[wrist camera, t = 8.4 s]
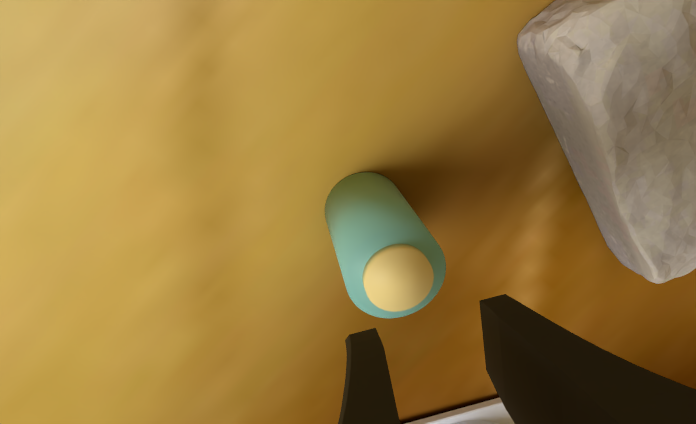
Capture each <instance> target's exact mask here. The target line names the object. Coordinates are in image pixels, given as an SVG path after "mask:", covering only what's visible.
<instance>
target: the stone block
mask: <svg viewBox="0 0 696 424" xmlns="http://www.w3.org/2000/svg"><path fill="white" fill-rule="evenodd" d="M517 45H518V52H519V56H520V58H521V60H522V63H523V66H524V68H525V70H526V73H527V75H528V77H529V79H530V81H531V83H532V85H533V87H534V89H535V91H536V93H537V95H538V97H539V100H540V102H541V104H542V106H543V108H544V110H545V112H546V114H547V117H548V119H549V121H550V123H551V125H552V127H553V129H554V131H555V134H556V136H557V138H558V140H559V142H560V145H561V147H562V149H563V151H564V153H565V155H566V157H567V159H568V161H569V163H570V165H571V167H572V170H573V172H574V174H575V177H576V179H577V181H578V183H579V185H580V187H581V189H582V191H583V193H584V195H585V197H586V199H587V201H588V204H589V206H590V208H591V210H592V212H593V215H594V217H595V220H596V222H597V224H598V226H599V229H600V231H601V233H602V235H603V237H604V239H605V241H606V244H607V246H608V247H609V248H610V250H611V251H612V252H613V253H614V255H615V256H616V257H617V258H618V260H619V261H620V262H621V263H622V264H623V265H625V266H626V267H628V268H630V269H631V270H633V271H635V272H636V273H638V274H641V275H642V276H643V277H645V278H646V279H647V280H649V281H651V282H654V283H656V284H658V283H664V282H666V281H668V280H671V279H673V278H676V277H681V276H683V275H685V274H688V273H690V272H691V271H692V270H694V269H695V268H696V0H555V1H554V2H553V3H551V4H550V5H549V6H548V7H547V8H545V9H544V10H543V11H542V12H541V13H540V14H538V15H537V16H536V17H534V18H532V19H531V20H530V21H529V22H528V23H527V24H526V25H525V27H524V28H523V29H522V30H521V32H520V33H519V34H518V38H517Z"/></svg>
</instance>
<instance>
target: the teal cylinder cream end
mask: <svg viewBox="0 0 696 424" xmlns="http://www.w3.org/2000/svg"><path fill="white" fill-rule="evenodd" d="M325 218H326V222H327V225H328V228H329V232H330V235H331V238H332V242H333V245H334V248H335V252H336V255H337V258H338V262H339V265H340V268H341V272H342V275H343V278H344V282H345V285H346V288H347V292H348V294H349V296H350V298H351V300H352V301H353V302H354V304H355V305H356V306H357V307H358V308H360V309H361V310H362V311H364V312H366V313H368V314H370V315H372V316H376V317H381V318H398V317H403V316H406V315H409V314H412V313H414V312H416V311H418V310H420V309H421V308H423V307H424V306H425V305H427V304H428V303H429V302H430V301H431V300H432V299H433V298H434V297H435V296H436V294H437V293H438V291H439V290H440V288H441V286H442V283H443V281H444V277H445V271H446V262H445V257H444V254H443V251H442V250H441V248H440V246H439V245H438V243H437V242H436V241H435V239H434V238H433V236H432V235H431V234H430V232H429V231H428V230H427V228H426V227H425V225H424V224H423V223H422V221H421V220H420V219H419V217H418V216H417V214H416V213H415V212H414V210H413V209H412V208H411V206H410V205H409V203H408V202H407V201H406V199H405V198H404V197H403V195H402V194H401V193H400V191H399V190H398V188H397V187H396V186H395V184H394V183H393V182H392V181H391V180H389V179H388V178H386V177H385V176H383V175H380V174H377V173H373V172H360V173H356V174H352V175H350V176H348V177H346V178H344V179H342V180H341V181H340V182H339V183H338V184H337V185H336V186H335V187H334V188H333V189H332V190H331V192H330V194H329V196H328V198H327V201H326V204H325Z"/></svg>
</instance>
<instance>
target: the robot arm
mask: <svg viewBox="0 0 696 424" xmlns="http://www.w3.org/2000/svg"><path fill="white" fill-rule="evenodd" d="M480 310H481V320H482V330H483V340H484V350H485V360H486V370H487V372H488V374H489V376H490V378H491V380H492V382H493V385H494V387H495V389H496V391H497V393H498V395H499V398H496V399H492V400H489V401H485V402H481V403H478V404H474V405H470V406H467V407H463V408H460V409H456V410H452V411H449V412H445V413H441V414H438V415H434V416H431V417H427V418H423V419H420V420H416V421H413V422H409V423H405V424H696V390H695V389H692V388H690V387H687V386H685V385H682V384H680V383H677V382H675V381H672V380H670V379H667V378H665V377H662V376H660V375H658V374H655V373H653V372H650V371H648V370H646V369H644V368H641V367H639V366H637V365H635V364H632V363H630V362H628V361H626V360H624V359H622V358H620V357H618V356H616V355H614V354H612V353H610V352H607V351H605V350H603V349H601V348H599V347H598V346H596V345H594V344H592V343H590V342H588V341H586V340H584V339H582V338H580V337H579V336H577V335H575V334H573V333H571V332H569V331H568V330H566V329H564V328H562V327H561V326H559V325H557V324H555V323H553V322H552V321H550V320H548V319H547V318H545V317H543V316H541V315H540V314H538V313H536V312H535V311H533V310H531V309H530V308H528V307H526V306H525V305H523V304H521V303H520V302H518V301H516V300H514V299H513V298H511V297H509V296H507V295H506V294H504V295H500V296H496V297H492V298H488V299H484V300H481V301H480ZM345 341H346V348H347V367H346V379H345V387H344V394H343V401H342V407H341V413H340V418H339V422H338V424H400V420H399V417H398V413H397V408H396V403H395V398H394V394H393V389H392V384H391V380H390V375H389V370H388V365H387V361H386V356H385V351H384V347H383V344H382V342H381V340H380V337H379V335H378V333H377V330H376V328H374V329H370V330H366V331H362V332H358V333H354V334H351V335H349V336H348V337H347V339H346V340H345Z"/></svg>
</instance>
